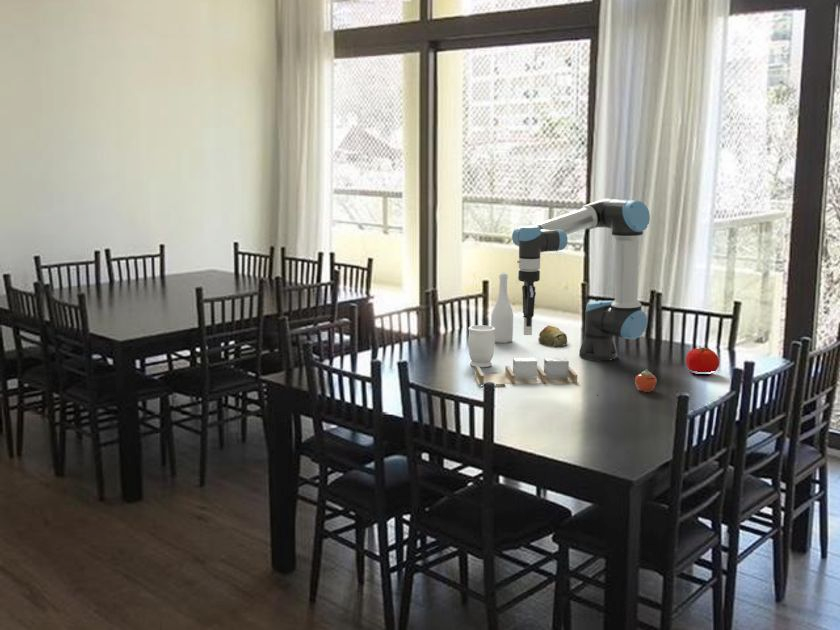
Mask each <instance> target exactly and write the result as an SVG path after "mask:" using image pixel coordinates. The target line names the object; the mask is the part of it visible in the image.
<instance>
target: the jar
mask: <svg viewBox="0 0 840 630" xmlns="http://www.w3.org/2000/svg"><path fill="white" fill-rule="evenodd" d="M468 331H469V333H468V338H467V346H468V347H467V348H468V354H469V355H468V356H469V359H470V360H471V362H470V366H472V367H474V368H476V366H479V367H480V368H489V367H491V366H492V362H491V361H492V359H493V356H494V351H495V346H496V342H495V336H494V331H495V328H494V327H492V326H491V325H484V324H483V325H481V324H480V325H479V324H478V325H477V324H476V325H471V326H469V327H468Z"/></svg>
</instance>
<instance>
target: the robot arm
mask: <svg viewBox="0 0 840 630" xmlns="http://www.w3.org/2000/svg"><path fill="white" fill-rule="evenodd" d="M650 220H651V214H650V210H649V207H648V206H647V205H646V204H645V202H643V201H641V200H637V199H634V198H633V199H630V198H615V197H609V198H608V197H607V198H603V199H600V200H596V201H594V202H591V203H588V204H584V205H582V206H581V208H580V209H578V210H575V211H572V212H569V213H565V214H562V215H560V216H557V217H554V218H551V219H548V220H545V221H541V222H539V223H536V224H532V225H524V226H523V225H522V226H517V227H516V228H514V230H513V232H512V233H511V240H512V243H513V244H514V245H515V246H517V247H518V260H517V264H518V269H519V270H518V281H519V282H523V285H522V287H521V291H522V313H523V316H522V317H523V335H524V336H533V333H532V332H533V317H535V316H534V315H535V302H536V294H537V293H536V286H535V285H534V284H535V282H540V279H541V278H540V276H541V274H540V273H541V272H540V269H541V253H544V252H558V251H562V250H564V249H566V247H567V246H568V235H571V234H573V233H576V232H579V231H581V230H585V229H587V230H592V229H596V228H606V229H611V236H612V237H613V238H614V239H615V261H614V262H615V265H614V266H615V267H614V270H615V271H614V272H615V273H614V276H615V277H614V300H594V301H589V302H587V303H586V307H585V312H584V313H585V314H584V317H585V318H584V321H585V322H584V339H583V341H582V343H581V346H580V348H579V353H578V354H579V357H580V358H581V359H584V358H585V360H589V359H591V360H590V361H596V360H609V361H611V360H610V359H614V358H616V357H617V358H618V351H617V346H616V343H615V339H614V338H615V337H619V338H622V339H624V340H636V339H638V338H640V337H641V336H642V335H643V334H644V333H645V330H646V329H647V326H648V316H647V315H646V312H645V311H643V310H642V303H641V302H640V301H639V299H638V291H639V289H638V287H639V285H638V284H639V283H638V282H639V243H640V242H639V241H640V238H641V237H642V236H643V234H644V231H645V230H646V229H647V228H648V225H649V223H650ZM617 358H616V359H617ZM614 360H615V359H614Z"/></svg>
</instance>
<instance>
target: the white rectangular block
mask: <svg viewBox="0 0 840 630" xmlns="http://www.w3.org/2000/svg"><path fill="white" fill-rule="evenodd" d="M537 366H538V360H537V358H536V357H518V358H517V357H513V358H512V371H513V373H514V374H515V380H537Z"/></svg>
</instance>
